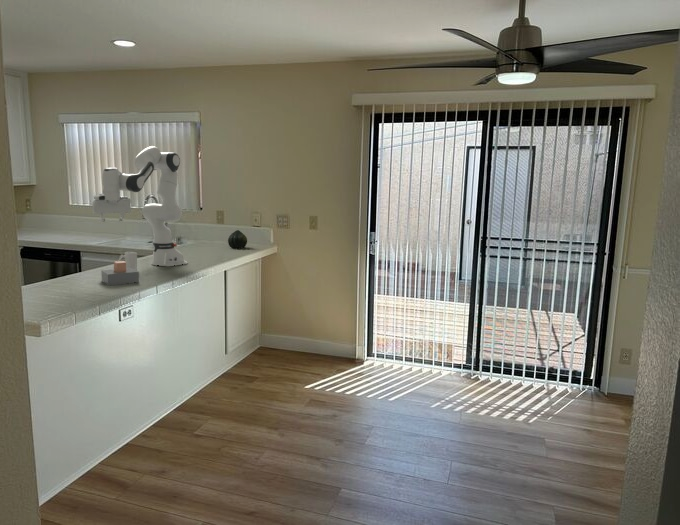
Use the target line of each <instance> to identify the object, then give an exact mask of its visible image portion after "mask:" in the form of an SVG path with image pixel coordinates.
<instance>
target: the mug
mask: <svg viewBox="0 0 680 525" xmlns="http://www.w3.org/2000/svg"><path fill="white" fill-rule="evenodd" d="M137 252H138V251H137ZM137 252H136V251H125V252H124V254H120V256H119V259H118V261H122V258H124V262H126V268H133V269H135V270H136V271H138V253H137Z"/></svg>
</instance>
